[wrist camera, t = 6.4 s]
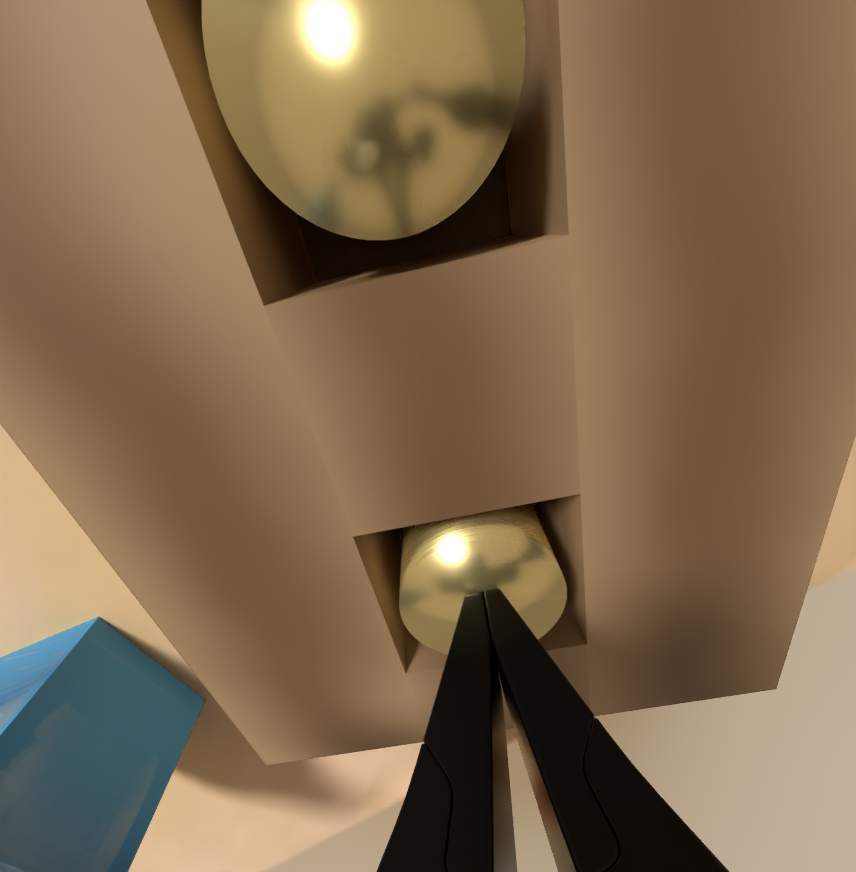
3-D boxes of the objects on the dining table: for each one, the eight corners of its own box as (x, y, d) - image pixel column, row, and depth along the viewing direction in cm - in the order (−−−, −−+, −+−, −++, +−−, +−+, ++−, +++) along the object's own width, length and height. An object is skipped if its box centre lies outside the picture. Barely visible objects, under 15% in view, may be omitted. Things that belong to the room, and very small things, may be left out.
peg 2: (520, 441, 12) (562, 524, 8) (531, 542, 14) (571, 643, 10) (389, 467, 12) (379, 557, 9) (418, 562, 14) (419, 668, 10)
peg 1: (463, -24, 7) (506, -249, 4) (492, 217, 9) (538, 205, 6) (259, 34, 8) (134, -129, 4) (326, 256, 9) (276, 268, 6)
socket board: (830, -517, 6) (1573, -1862, 2) (692, 583, 15) (776, 689, 12) (-164, -173, 7) (-834, -648, 3) (298, 650, 16) (266, 765, 13)
